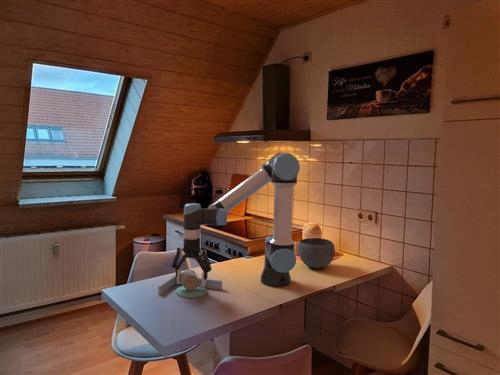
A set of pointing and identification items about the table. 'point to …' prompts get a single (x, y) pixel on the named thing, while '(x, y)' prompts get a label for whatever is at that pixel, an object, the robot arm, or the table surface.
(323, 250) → the bowl
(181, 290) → the mat
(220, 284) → the divider wall
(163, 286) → the end wall
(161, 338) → the table surface
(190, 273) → the ceramic mug
